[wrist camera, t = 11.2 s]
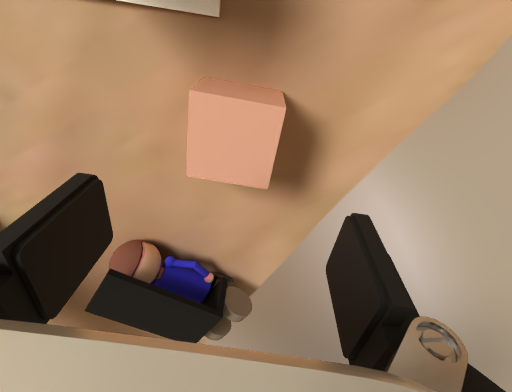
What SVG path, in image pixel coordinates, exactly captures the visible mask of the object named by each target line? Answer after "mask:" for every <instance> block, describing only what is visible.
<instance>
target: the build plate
mask: <svg viewBox="0 0 512 392" xmlns="http://www.w3.org/2000/svg"><path fill="white" fill-rule="evenodd" d="M118 1H124V2H130V3H136V4H142V5H148V6H154V7H160V8H167V9H173V10H179V11H185V12H191V13H197V14H203V15H209V16H215V17H220V4H221V0H118Z"/></svg>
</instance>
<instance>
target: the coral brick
mask: <svg viewBox="0 0 512 392" xmlns="http://www.w3.org/2000/svg"><path fill="white" fill-rule="evenodd" d="M285 112H286V104H285V100H284V96H283V92H282V91H278V90H272V89H267V88H262V87H257V86H251V85H246V84H241V83H235V82H230V81H225V80H220V79H214V78H209V77H204V78H203V79H201V80H200V81H199V82H198V83H197V84H196V85H194V86H193V87H192V88H191V89H190V90H189V111H188V138H187V165H186V176H188V177H194V178H200V179H207V180H213V181H219V182H225V183H231V184H237V185H243V186H249V187H255V188H261V189H267V190H268V186H269V181H270V177H271V173H272V168H273V164H274V160H275V155H276V151H277V147H278V142H279V138H280V134H281V129H282V125H283V121H284V116H285Z"/></svg>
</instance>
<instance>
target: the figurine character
mask: <svg viewBox="0 0 512 392" xmlns="http://www.w3.org/2000/svg"><path fill="white" fill-rule="evenodd" d="M192 268H193V269H192ZM217 278H218V279H221V280H220V281H219V282H218V283H217V284H216V285H215V282H216V280H217ZM227 282H233V280H232V279H231V278H229V277H226V276H223V275H221V274H218V273H215V272H210V273H209V272H208V271H207V270H205V269H204V268H203V267H202V266H201V265H200V264H198V263H197V262H196V261H188V260H177V259H175V258H174V257H172V256H169V257H167V258H166V259H165V262H164V263H163V265H162V266H161V256H160V253H159V251H158V249H157V248H156V247H155V246H154V245H153V244H151V243H150V242H147V241H144V240H132V241H129V242H126V243H124V244H122V245H121V246H120V247H118V248H117V249H116V251H115V252H114V253H113V255H112V257H111V259H110V263H109V271H108V273H107V274H106V276H105V278H104V279H103V281H102V283H101V284H100V286H99V288H98V289H97V291H96V292H95V294H94V296H93V297H92V299H91V301H90V302H89V304H88V306H87V307H86V309H85V311H86V312H89V313H92V314H95V315H98V316H101V317H104V318H107V319H110V320H113V321H117V322H120V323H123V324H126V325H129V326H132V327H135V328H138V329H141V330H144V331H147V332H150V333H153V334H157V335H160V336H163V337H166V338H169V339H172V340H175V341H182V342H189V343H197V342H198V341H199V340H200V339H201V338H202V337H203V336H206V337H207V338H209V339H211V340H220V339H222V338H223V337H224V336H225V335H226V334H227V333H228V332H229V331H230V329H231V321H234V322H240V321H242V320H243V319H244V318H245V317H246V316H248V314H250V312H251V310H252V303H251V301H250V298H249V297H248V295H247V294H246V293H245V292H244V291H243V290H241V289H240V288H237V287H228V288H227ZM214 285H215V286H214ZM198 302H199V303H198Z"/></svg>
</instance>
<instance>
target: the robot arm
mask: <svg viewBox="0 0 512 392" xmlns="http://www.w3.org/2000/svg"><path fill="white" fill-rule="evenodd" d="M112 238H113V231H112V226H111V221H110V216H109V211H108V206H107V202H106V197H105V192H104V187H103V183H102V181H101V180H99V179H98V177H97V176H96V175H91V174H84V173H77V174H76V175H74V176H73V177H72V178H70V179H69V180H68V181H66V182H65V183H64V184H63V185H61V186H60V187H59V188H57V189H56V190H55V191H53V192H52V193H51V194H50V195H48V196H47V197H46V198H44V199H43V200H42V201H40V202H39V203H38V204H37V205H35V206H34V207H33V208H31V209H30V210H29V211H27V212H26V213H25V214H24V215H22V216H21V217H20V218H18V219H17V220H16V221H14V222H13V223H12V224H11V225H9V226H8V227H7V228H5V229H4V230H3V231H1V232H0V392H505V391H504V390H503V389H501V388H500V387H499V386H497V385H496V384H495V383H493V382H492V381H491V380H489V379H488V378H487V377H486V376H484V375H483V374H482V373H480V372H479V371H478V370H476V369H475V368H473V367H472V366H471V365H470V364H468V354H467V351H466V348H465V346H464V344H463V343H462V341H461V340H460V338H459V337H458V336H457V335H456V334H455V333H454V332H453V331H452V330H451V329H450V328H448V327H447V326H446V325H444V324H443V323H441V322H439V321H437V320H435V319H432V318H429V317H420V316H419V314H418V312H417V310H416V308H415V306H414V304H413V302H412V300H411V298H410V296H409V294H408V292H407V290H406V288H405V286H404V284H403V282H402V280H401V278H400V276H399V274H398V272H397V270H396V268H395V265H394V263H393V262H392V259H391V257H390V256H389V254H388V253H387V251H386V249H385V247H384V245H383V243H382V241H381V239H380V237H379V235H378V233H377V231H376V229H375V227H374V225H373V223H372V221H371V219H370V217H369V216H368V215H364V214H357V213H352V214H351V216H347V217H346V218H345V220H344V223H343V225H342V227H341V230H340V232H339V235H338V237H337V240H336V242H335V245H334V247H333V250H332V252H331V254H330V257H329V259H328V262H327V265H326V275H327V280H328V285H329V290H330V294H331V299H332V304H333V309H334V313H335V319H336V323H337V328H338V333H339V338H340V343H341V348H342V352H343V355H344V357H345V358H348V360H349V365H347V364H340V363H334V362H327V361H321V360H314V359H308V358H300V357H294V356H286V355H278V354H271V353H264V352H257V351H249V350H242V349H234V348H227V347H220V346H212V345H205V344H197V343H189V342H182V341H174V340H167V339H159V338H151V337H143V336H136V335H128V334H120V333H112V332H104V331H96V330H88V329H80V328H72V327H64V326H56V325H48V324H47V322H48V321H49V320H50V319H53V318H55V317H56V316H57V315H58V313H59V312H60V311H61V309H62V308H63V307H64V305H65V304H66V303H67V301H68V300H69V298H70V297H71V296H72V294H73V293H74V292H75V290H76V289H77V288H78V286H79V285H80V284H81V282H82V281H83V280H84V278H85V277H86V276H87V274H88V273H89V271H90V270H91V269H92V267H93V266H94V265H95V263H96V262H97V261H98V259H99V258H100V257H101V255H102V254H103V253H104V251H105V250H106V248H107V247H108V246H109V244H110V243H111V241H112Z"/></svg>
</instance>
